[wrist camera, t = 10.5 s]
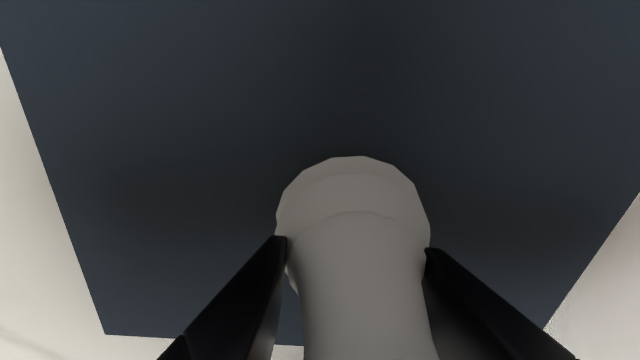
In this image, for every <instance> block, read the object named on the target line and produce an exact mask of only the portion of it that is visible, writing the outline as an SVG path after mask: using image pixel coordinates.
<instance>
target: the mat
mask: <svg viewBox="0 0 640 360" xmlns="http://www.w3.org/2000/svg"><path fill="white" fill-rule="evenodd" d="M0 47H1V49H2V52H3V55H4V58H5V60H6V63H7V66H8V69H9V71H10V74H11V77H12V80H13V82H14V85H15V88H16V91H17V93H18V96H19V99H20V102H21V104H22V107H23V110H24V113H25V115H26V118H27V121H28V124H29V126H30V129H31V132H32V135H33V137H34V140H35V143H36V146H37V148H38V151H39V154H40V157H41V159H42V162H43V165H44V168H45V170H46V173H47V176H48V179H49V181H50V184H51V187H52V190H53V192H54V195H55V198H56V201H57V203H58V206H59V209H60V212H61V214H62V217H63V220H64V223H65V225H66V228H67V231H68V234H69V236H70V239H71V242H72V245H73V247H74V250H75V253H76V256H77V258H78V261H79V264H80V267H81V269H82V272H83V275H84V278H85V280H86V283H87V286H88V289H89V291H90V294H91V297H92V300H93V302H94V305H95V308H96V311H97V313H98V316H99V319H100V322H101V324H102V327H103V330H104V333H105V334H106V335H123V336H140V337H157V338H174V339H176V338H177V337H178V336H179V335H182V332H183V331H184V330H185V329H186V328H187V326H188V325H189V324H190V323H191V322H192V321H193V320H194V319H195V318H196V317H197V316H198V314H199V313H200V312H201V311H202V310H203V309H204V308H205V307H206V306H207V305H208V304H209V302H210V301H211V300H212V299H213V298H214V297H215V296H216V295H217V294H218V293H219V292H220V290H221V289H222V288H223V287H224V286H225V285H226V284H227V283H228V282H229V281H230V280H231V278H232V277H233V276H234V275H235V274H236V273H237V272H238V271H239V270H240V269H241V268H242V266H243V265H244V264H245V263H246V262H247V261H248V260H249V259H250V258H251V257H252V256H253V254H254V253H255V252H256V251H257V250H258V249H259V248H260V247H261V246H262V245H263V244H264V242H265V241H266V240H267V239H268V238H269V237H270V236H271V235H275V234H274V233H275V230H276V227H277V219H276V212H277V209H278V206H279V203H280V200H281V197H282V194H283V191H284V190H285V189H286V188H287V187H288V186H289V185H290V184H291V183H292V182H293V180H294V179H295V178H296V177H297V176H298V175H299V174H300V173H301V172H302V171H303V170H305V169H307V168H310V167H312V166H314V165H316V164H319V163H321V162H323V161H325V160H328V159H330V158H336V157H353V156H366V157H369V158H372V159H375V160H378V161H381V162H384V163H388V164H391V165H393V166H394V167H396V168H397V169H398V170H399V171H400V172H401V173H402V174H404V175H405V176H406V177H407V178H408V179H409V180H410V181H411V182H413V183H414V185H415V188H416V191H417V193H418V196H419V198H420V201H421V203H422V206H423V209H424V211H425V214H426V216H427V219H428V222H429V224H430V242H429V247H433V248H440V249H442V250H443V251H445V252H446V253H447V254H448V255H450V256H451V257H452V258H453V259H455V260H456V261H457V262H458V263H460V264H461V265H462V266H463V267H465V268H466V269H467V270H468V271H470V272H471V273H472V274H473V275H475V276H476V277H477V278H478V279H480V280H481V281H482V282H483V283H485V284H486V285H487V286H488V287H490V288H491V289H492V290H493V291H495V292H496V293H497V294H498V295H500V296H501V297H502V298H503V299H505V300H506V301H507V302H508V303H510V304H511V305H512V306H513V307H515V308H516V309H517V310H518V311H520V312H521V313H522V314H523V315H525V316H526V317H527V318H528V319H530V320H531V321H532V322H533V323H535V324H536V325H537V326H538V327H540V328H541V329H542V330H543V328H544V327H545V325H546V324H547V323H548V321H549V320H550V318H551V317H552V316H553V314H554V313H555V311H556V310H557V308H558V307H559V306H560V304H561V303H562V301H563V300H564V298H565V297H566V296H567V294H568V293H569V291H570V290H571V289H572V287H573V286H574V284H575V283H576V281H577V280H578V279H579V277H580V276H581V274H582V273H583V271H584V270H585V269H586V267H587V266H588V264H589V263H590V262H591V260H592V259H593V257H594V256H595V254H596V253H597V252H598V250H599V249H600V247H601V246H602V244H603V243H604V242H605V240H606V239H607V237H608V236H609V235H610V233H611V232H612V230H613V229H614V227H615V226H616V225H617V223H618V222H619V220H620V219H621V217H622V216H623V215H624V213H625V212H626V210H627V209H628V208H629V206H630V205H631V203H632V202H633V200H634V199H635V198H636V196H637V195H638V193H639V192H640V0H0ZM274 344H277V345H294V346H304V337H303V326H302V316H301V306H300V300H299V296H298V294H297V293H296V291H295V290H294V289H293V287H292V286H291V285H290V283H289V277H288V275H287V274H286V272H285V274H284V283H283V291H282V300H281V309H280V317H279V324H278V329H277V334H276V338H275V342H274Z"/></svg>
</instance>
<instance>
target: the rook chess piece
mask: <svg viewBox="0 0 640 360" xmlns="http://www.w3.org/2000/svg"><path fill="white" fill-rule="evenodd" d="M276 219H277V227H276V230H275V233H274V234H275V235H281V236H286V237H287V248H286V265H285V272H286V274H287V275H288V277H289V283H290V285H291V286H292V287H293V289H294V290H295V291H296V293H297V294H298V296H299V300H300V306H301V316H302V326H303V337H304V360H440V359H439V357H438V354H437V351H436V348H435V345H434V342H433V340H432V335H431V330H430V325H429V320H428V315H427V310H426V305H425V300H424V295H423V290H422V285H421V280H422V279H423V277H424V271H425V263H426V255H425V252H424V249H425V247H429V242H430V224H429V222H428V219H427V216H426V214H425V211H424V209H423V206H422V203H421V201H420V198H419V196H418V193H417V191H416V188H415V185H414V183H413V182H411V181H410V180H409V179H408V178H407V177H406V176H405V175H404V174H402V173H401V172H400V171H399V170H398V169H397V168H396V167H394V166H393V165H391V164H388V163H384V162H381V161H378V160H375V159H372V158H369V157H366V156H353V157H336V158H330V159H328V160H325V161H323V162H321V163H319V164H316V165H314V166H312V167H310V168H307V169H305V170H303V171H302V172H301V173H300V174H299V175H298V176H297V177H296V178H295V179H294V180H293V182H292V183H291V184H290V185H289V186H288V187H287V188H286V189H285V190H284V191H283V194H282V197H281V200H280V203H279V206H278V209H277V212H276Z"/></svg>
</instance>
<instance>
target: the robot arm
mask: <svg viewBox="0 0 640 360" xmlns="http://www.w3.org/2000/svg"><path fill="white" fill-rule="evenodd" d="M286 248H287V237H286V236H281V235H271V236H270V237H269V238H268V239H267V240H266V241H265V242H264V244H263V245H262V246H261V247H260V248H259V249H258V250H257V251H256V252H255V253H254V254H253V256H252V257H251V258H250V259H249V260H248V261H247V262H246V263H245V264H244V265H243V266H242V268H241V269H240V270H239V271H238V272H237V273H236V274H235V275H234V276H233V277H232V278H231V280H230V281H229V282H228V283H227V284H226V285H225V286H224V287H223V288H222V289H221V290H220V292H219V293H218V294H217V295H216V296H215V297H214V298H213V299H212V300H211V301H210V302H209V304H208V305H207V306H206V307H205V308H204V309H203V310H202V311H201V312H200V313H199V314H198V316H197V317H196V318H195V319H194V320H193V321H192V322H191V323H190V324H189V325H188V326H187V328H186V329H185V330H184V331H183V332H182V335H179V336H178V337H177V338H176V339H175V340H174V341H173V343H172V344H171V345H170V346H169V347H168V348H167V349H166V350H165V351H164V352H163V353H162V354H161V355H160V357H159V358H158V359H157V360H270V359H271V355H272V350H273V346H274V342H275V338H276V334H277V329H278V324H279V317H280V309H281V300H282V291H283V283H284V274H285V265H286ZM424 252H425V255H426V263H425V271H424V277H423V279H422V280H421V285H422V290H423V295H424V300H425V305H426V310H427V315H428V320H429V325H430V330H431V335H432V340H433V342H434V345H435V348H436V351H437V354H438V357H439V359H440V360H580V359H576V358H575V356H574V355H573V354H572V353H571V352H569V351H568V350H567V349H566V348H564V347H563V346H562V345H561V344H559V343H558V342H557V341H556V340H555V339H553V338H552V337H551V336H550V335H548V334H547V333H546V332H545V331H543V330H542V329H541V328H540V327H538V326H537V325H536V324H535V323H533V322H532V321H531V320H530V319H528V318H527V317H526V316H525V315H523V314H522V313H521V312H520V311H518V310H517V309H516V308H515V307H513V306H512V305H511V304H510V303H508V302H507V301H506V300H505V299H503V298H502V297H501V296H500V295H498V294H497V293H496V292H495V291H493V290H492V289H491V288H490V287H488V286H487V285H486V284H485V283H483V282H482V281H481V280H480V279H478V278H477V277H476V276H475V275H473V274H472V273H471V272H470V271H468V270H467V269H466V268H465V267H463V266H462V265H461V264H460V263H458V262H457V261H456V260H455V259H453V258H452V257H451V256H450V255H448V254H447V253H446V252H445V251H443V250H442V249H440V248H433V247H425V249H424Z"/></svg>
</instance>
